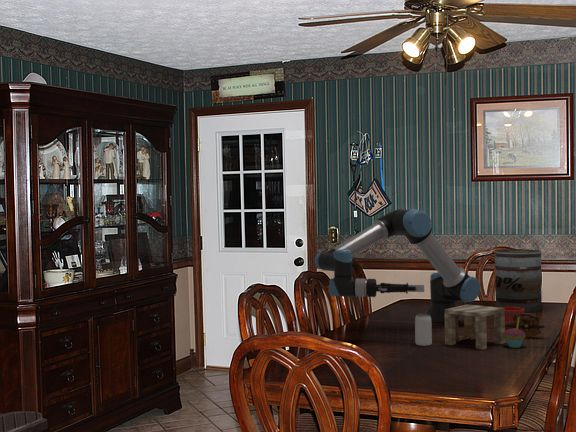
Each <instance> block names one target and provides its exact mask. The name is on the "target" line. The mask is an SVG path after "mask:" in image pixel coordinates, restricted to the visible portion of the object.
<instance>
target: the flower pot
mask: <svg viewBox="0 0 576 432" xmlns="http://www.w3.org/2000/svg"><path fill="white" fill-rule="evenodd" d="M500 308H504V311H505V324H508V323H514V320H513V318H514V315H515V314H516V315H519V314H522V313H524V308H520V307H500ZM505 331H506V328H505Z"/></svg>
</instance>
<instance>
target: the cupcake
mask: <svg viewBox="0 0 576 432" xmlns="http://www.w3.org/2000/svg"><path fill="white" fill-rule="evenodd" d="M519 317H520V316H519ZM519 319H520V318H518V321H517V327H516V328H513V329H508V330H506V331H504V332H503V337H504V338H505V342H506V344H507V346H508V347H509V348H512V349H514V348H515V349H518V348H521V347H522V343H523V342H524V339H526V337H525V335H526V334H525V333H524V332H523V331H522V330H519V329H518V326H519Z"/></svg>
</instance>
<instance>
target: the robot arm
mask: <svg viewBox="0 0 576 432" xmlns="http://www.w3.org/2000/svg"><path fill="white" fill-rule="evenodd" d="M394 236H395V237H396V236H402V237H405V238H406V239H407V240H408V242H409V243H410V244H411V245H416V246H417V248H418V249H419V250H420V252H421V253H422V254H423V255H424V256H425V258H426V260H427V261H429V263H430V264H431V265H432V267H433V268H434V269H435V271H436V272H432V273H431V274H430V279H429V283H430V284H429V285H430V286H429V287H430V291H429V292H430V305H429V308H428V312H427V314H430V317H431V323H441V324H445V309H449V308H454V307H458V306H457V303H456V301H457V302H462V303H471V302H475V300H476V299H477V298H478V296H479V295H480V291H481V290H480V289H481V284H480V281H479V280H478V278H476V277H474V276H470V275H469V274H468V272H467V271H466V270H465V269H464V268H463V267H459V266H458V265H457V264H456V263H455V261H454V260H453V258H452V257H451V256H450V254H449V253H448V252H447V251H446V250H445V248H444V247H443V246H442V244H441V243H440V242H439V240H437V238H436V237H435V235H434V234H433V227H432V220H431V217H430V215H429V214H428V213H427V212H425V211H424V210H421V209H414V208H413V209H395V210H392V211H390V212H388V213H386V214H384V215H383V216H380V217H379V218H377V219H376V220H374V221H373V224H371V225H370V226H369V227H366V228H364V230H361V231H359V232H358V233H356V234H355V235H353V236H351V237H350V238H348V239H346V240H344V241H343V242H341V243H340V244H338V245H336V246H334V247H333V248H331V249H329V250H327V251H326V252H325V251H323V252H318V253H317V254H316V255H315V256H314V261H313V262H314V265H315V268H317V269H318V270H322V271H329V272H333V277H332V278H330V279H329V282H328V292H329V295H330V296H332V297H340V298H342V297H343V298H345V297H347V298H350V297H358V299H361V298H363V297H364V298H365V297H366V296H367V298H376V296H377V292H378V293H380V294H385V293H387V294H391V293H405V294H409V293H412V292H413V293H424V292H425V285H424V284H409V283H408V282H406V283H391V282H390V283H386V282H380V283H379V284H377V279H375V278H353V257H354V256H356V255H357V254H360V253H361V252H362V251H364V250H365V249H368V248H369V247H371V246H372V245H374V244H375V243H377V242H379V241H381V240H387V239H388V238H391V237H394ZM460 317H461V315H458V322H459V321H461V318H460Z"/></svg>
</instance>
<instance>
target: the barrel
mask: <svg viewBox="0 0 576 432" xmlns="http://www.w3.org/2000/svg"><path fill="white" fill-rule="evenodd" d="M494 275H495V277H494V278H495V280H494V282H495V284H494V285H495V286H494V287H495V291H494V292H495V307H498V308H500V307H520V308H524V313H529V314H536V313H540V312H542V311H543V310H542V309H543V307H542V305H543V302H542V301H543V300H542V297H543V296H542V294H543V293H542V250H539V249H526V248H525V249H521V248H520V249H498V250H497V249H496V250H494Z"/></svg>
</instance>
